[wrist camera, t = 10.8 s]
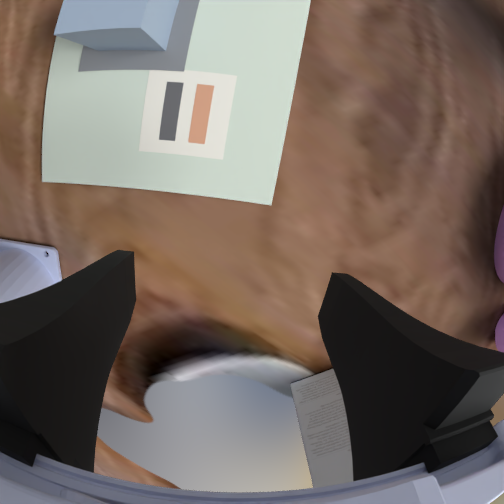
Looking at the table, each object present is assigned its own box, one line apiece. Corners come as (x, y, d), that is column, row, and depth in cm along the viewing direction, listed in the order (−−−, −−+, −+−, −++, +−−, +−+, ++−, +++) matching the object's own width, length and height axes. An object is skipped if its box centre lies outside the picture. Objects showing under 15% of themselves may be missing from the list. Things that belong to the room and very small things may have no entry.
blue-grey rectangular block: (97, 50, 13) (53, 34, 8) (114, -10, 11) (79, -42, 6) (165, 51, 14) (140, 27, 9) (182, -12, 12) (166, -52, 7)
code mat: (44, 180, 17) (41, 182, 17) (78, -30, 10) (76, -32, 10) (270, 203, 19) (271, 205, 19) (313, -23, 12) (315, -25, 12)
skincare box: (300, 403, 29) (322, 502, 18) (289, 382, 27) (312, 494, 16) (354, 383, 28) (390, 479, 17) (348, 360, 26) (391, 467, 16)
